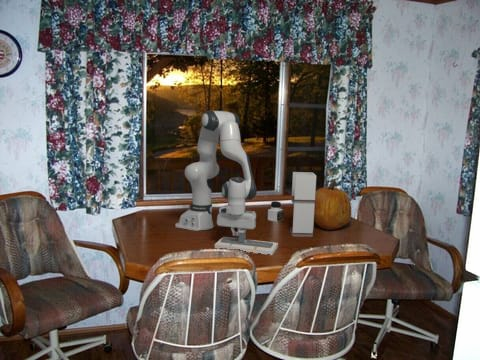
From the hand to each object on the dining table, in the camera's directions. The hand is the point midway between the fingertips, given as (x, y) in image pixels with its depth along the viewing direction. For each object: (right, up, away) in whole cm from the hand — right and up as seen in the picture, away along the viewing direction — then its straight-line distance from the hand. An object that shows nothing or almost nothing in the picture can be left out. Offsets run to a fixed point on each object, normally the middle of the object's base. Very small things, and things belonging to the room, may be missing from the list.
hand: (235, 235), depth 232 cm
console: (+6, -6, 0) cm, 8 cm away
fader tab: (+3, -4, 0) cm, 5 cm away
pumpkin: (+56, 0, +42) cm, 70 cm away
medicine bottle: (+25, +3, +55) cm, 60 cm away
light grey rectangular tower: (+37, -3, +27) cm, 46 cm away
